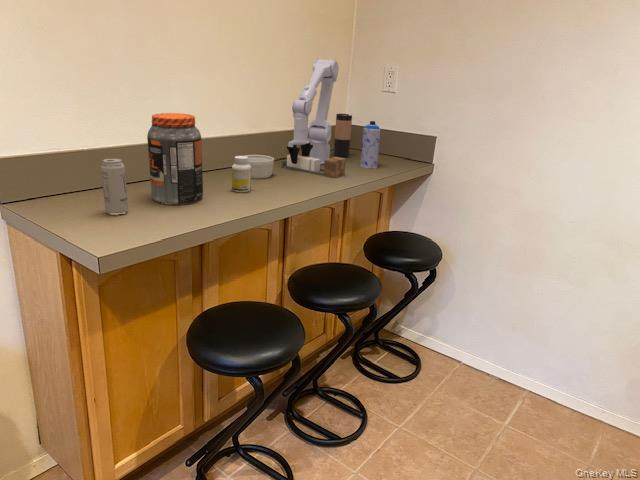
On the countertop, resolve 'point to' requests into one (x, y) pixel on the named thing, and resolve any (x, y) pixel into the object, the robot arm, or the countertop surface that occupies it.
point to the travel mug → (342, 135)
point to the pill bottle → (241, 174)
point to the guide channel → (284, 165)
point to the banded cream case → (305, 163)
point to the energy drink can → (114, 186)
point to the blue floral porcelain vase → (370, 146)
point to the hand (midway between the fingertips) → (299, 162)
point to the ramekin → (260, 166)
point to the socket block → (334, 167)
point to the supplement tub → (175, 159)
